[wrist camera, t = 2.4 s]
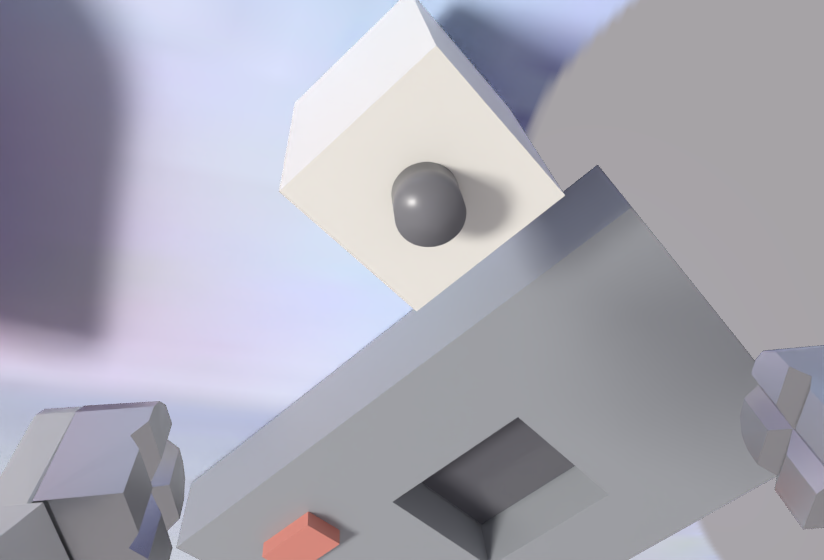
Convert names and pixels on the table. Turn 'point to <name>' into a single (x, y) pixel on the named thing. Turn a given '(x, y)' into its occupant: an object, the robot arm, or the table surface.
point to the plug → (412, 158)
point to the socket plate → (506, 415)
